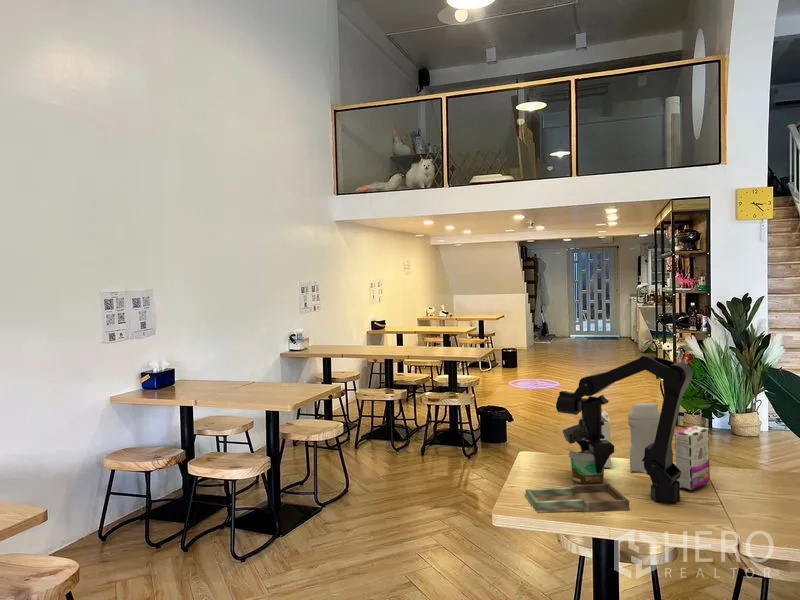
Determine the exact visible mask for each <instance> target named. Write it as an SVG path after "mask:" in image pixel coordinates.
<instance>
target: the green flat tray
mask: <svg viewBox="0 0 800 600" xmlns="http://www.w3.org/2000/svg"><path fill="white" fill-rule="evenodd" d="M524 496H525V498H526V500H528V502H529V504H530V505H531V506H532V507H533V509H534V511H536V513H537V514H557V513H558V514H561V513H562V514H563V513H568V514H569V513H595V512H598V513H599V512H613V511H614V512H615V511H617V512H618V511H630V500H629V499H628V498H627V497H626V496H624V495H623V494H622V493H621V492H620V491H618V490H617V489H616V488H615V487H614V486H613V485H612V484H611V483H602V484H592V485H579V484H576V485H575V484H573V485H568V486H567V487H552V488H550V487H548V488H529V489H528V488H526V489H525V493H524Z"/></svg>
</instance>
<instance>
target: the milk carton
mask: <svg viewBox="0 0 800 600" xmlns="http://www.w3.org/2000/svg"><path fill="white" fill-rule="evenodd" d="M609 416H610V415H609V413H608V412H606V411H605V410H602V421H603V422H604V425H602V434H603V435H604V439H600V440H607V441H609V442H610V443H611V420H610V417H609ZM611 461H612V460H611V455H610V456H609V458H608V460H607V461H606V463H605V465H604V468H609V469H610V468H611V466H612V465H611Z"/></svg>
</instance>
